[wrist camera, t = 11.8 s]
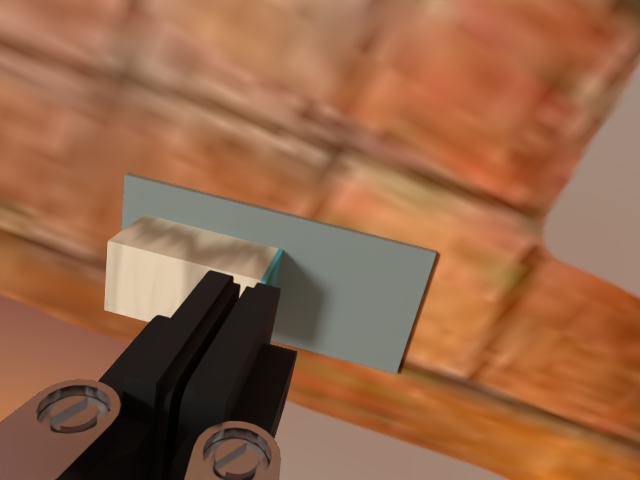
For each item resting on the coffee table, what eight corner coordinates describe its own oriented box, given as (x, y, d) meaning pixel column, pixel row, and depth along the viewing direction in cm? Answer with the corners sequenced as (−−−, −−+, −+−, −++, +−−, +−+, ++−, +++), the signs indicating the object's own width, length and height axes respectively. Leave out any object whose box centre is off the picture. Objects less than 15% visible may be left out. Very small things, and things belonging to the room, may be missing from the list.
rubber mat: (436, 250, 41) (436, 253, 41) (396, 370, 46) (396, 374, 45) (127, 173, 43) (124, 174, 42) (119, 297, 47) (117, 299, 47)
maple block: (265, 281, 37) (107, 240, 38) (252, 349, 39) (104, 310, 40) (283, 249, 43) (145, 214, 43) (270, 310, 45) (140, 276, 46)
